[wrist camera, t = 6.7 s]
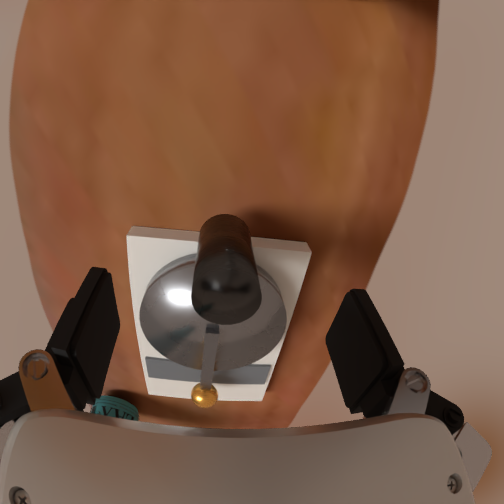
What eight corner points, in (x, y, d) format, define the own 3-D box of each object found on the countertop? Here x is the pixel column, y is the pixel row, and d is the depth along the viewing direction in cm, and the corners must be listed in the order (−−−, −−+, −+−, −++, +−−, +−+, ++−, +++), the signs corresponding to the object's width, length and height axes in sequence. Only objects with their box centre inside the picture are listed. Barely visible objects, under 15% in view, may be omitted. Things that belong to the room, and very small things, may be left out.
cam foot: (141, 200, 17) (105, 255, 11) (311, 221, 19) (348, 281, 13) (151, 378, 26) (143, 435, 20) (256, 387, 28) (263, 442, 22)
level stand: (132, 226, 20) (124, 238, 18) (306, 242, 22) (313, 255, 20) (150, 383, 29) (148, 396, 28) (260, 390, 31) (262, 403, 30)
